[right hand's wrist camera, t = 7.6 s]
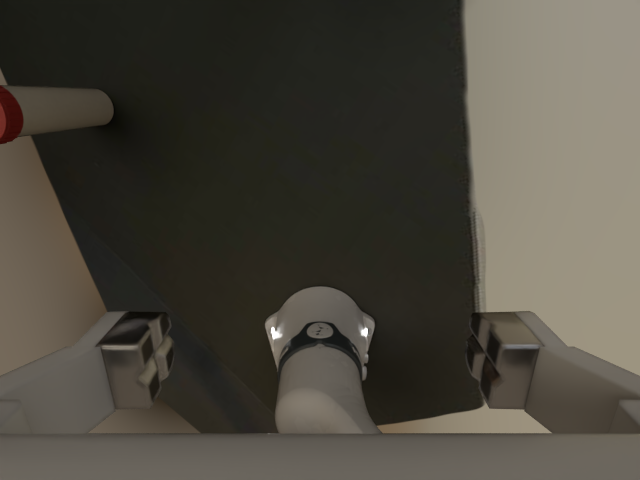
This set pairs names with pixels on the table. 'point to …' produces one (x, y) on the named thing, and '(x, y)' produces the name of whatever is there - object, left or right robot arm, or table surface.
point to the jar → (61, 108)
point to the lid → (9, 116)
